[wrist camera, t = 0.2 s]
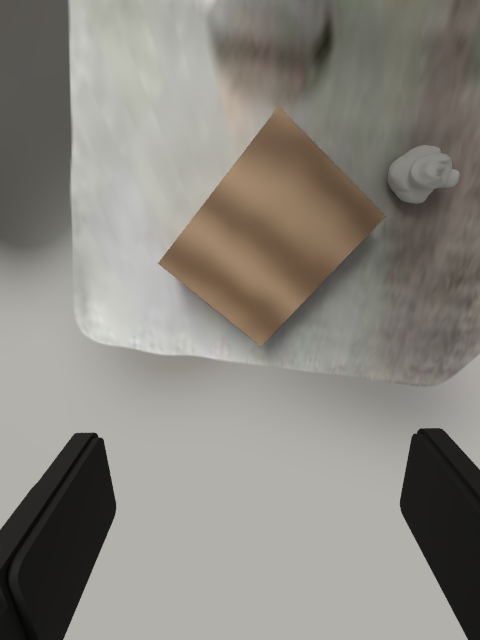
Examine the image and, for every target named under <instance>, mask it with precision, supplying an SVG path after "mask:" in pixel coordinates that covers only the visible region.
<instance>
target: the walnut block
mask: <svg viewBox="0 0 480 640" xmlns="http://www.w3.org/2000/svg"><path fill="white" fill-rule="evenodd" d="M384 218H385V215H384V214H383V213H382V212H381V211H380V210H379V209H378V208H377V207H376V205H375V204H374V203H373V202H372V201H371V200H370V199H369V198H368V197H367V196H366V195H365V194H364V193H363V192H362V191H361V190H360V189H359V188H358V187H357V186H356V185H355V184H354V183H353V182H352V181H351V180H350V179H349V178H348V177H347V176H346V175H345V174H344V173H343V172H342V171H341V170H340V168H339V167H338V166H337V165H336V164H335V163H334V162H333V161H332V160H331V159H330V158H329V157H328V156H327V155H326V154H325V153H324V152H323V151H322V150H321V149H320V148H319V147H318V146H317V145H316V144H315V143H314V142H313V141H312V140H311V139H310V138H309V137H308V136H307V135H306V134H305V132H304V131H303V130H302V129H301V128H300V127H299V126H298V125H297V124H296V123H295V122H294V121H293V120H292V119H291V118H290V117H289V116H288V115H287V114H286V113H285V112H284V111H283V110H282V109H281V108H280V107H278V108H277V109H276V111H275V112H274V113H273V115H272V116H271V117H270V119H269V120H268V121H267V122H266V124H265V125H264V126H263V128H262V129H261V130H260V132H259V133H258V134H257V135H256V137H255V138H254V139H253V141H252V142H251V143H250V145H249V146H248V147H247V148H246V150H245V151H244V152H243V154H242V155H241V156H240V158H239V159H238V160H237V161H236V163H235V164H234V165H233V167H232V168H231V169H230V171H229V172H228V173H227V174H226V176H225V177H224V178H223V180H222V181H221V182H220V184H219V185H218V186H217V187H216V189H215V190H214V191H213V193H212V194H211V195H210V197H209V198H208V199H207V200H206V202H205V203H204V204H203V206H202V207H201V208H200V210H199V211H198V212H197V213H196V215H195V216H194V217H193V219H192V220H191V221H190V223H189V224H188V225H187V226H186V228H185V229H184V230H183V232H182V233H181V234H180V236H179V237H178V238H177V239H176V241H175V242H174V243H173V245H172V246H171V247H170V249H169V250H168V251H167V253H166V254H165V255H164V256H163V258H162V259H161V260H160V262H159V263H158V264H159V265H161V266H162V267H163V268H164V269H165V270H167V271H168V272H169V273H170V274H172V275H173V276H174V277H175V278H177V279H178V280H179V281H180V282H182V283H183V284H184V285H185V286H187V287H188V288H189V289H190V290H192V291H193V292H194V293H195V294H197V295H198V296H199V297H200V298H202V299H203V300H204V301H205V302H207V303H208V304H209V305H210V306H212V307H213V308H214V309H215V310H217V311H218V312H219V313H220V314H222V315H223V316H224V317H225V318H227V319H228V320H229V321H230V322H232V323H233V324H234V325H235V326H237V327H238V328H239V329H240V330H241V331H243V332H244V333H245V334H246V335H248V336H249V337H250V338H251V339H253V340H254V341H255V342H256V343H258V344H259V345H260V346H262V345H263V344H264V343H265V342H266V341H267V339H268V338H269V337H270V336H271V335H272V334H273V333H274V332H275V331H276V330H277V329H278V328H279V327H280V326H281V325H282V324H283V323H284V322H285V321H286V320H287V319H288V318H289V317H290V315H291V314H292V313H293V312H294V311H295V310H296V309H297V308H298V307H299V306H300V305H301V304H302V303H303V302H304V301H305V300H306V299H307V298H308V297H309V296H310V295H311V294H312V293H313V292H314V290H315V289H316V288H317V287H318V286H319V285H320V284H321V283H322V282H323V281H324V280H325V279H326V278H327V277H328V276H329V275H330V274H331V273H332V272H333V271H334V270H335V269H336V268H337V267H338V265H339V264H340V263H341V262H342V261H343V260H344V259H345V258H346V257H347V256H348V255H349V254H350V253H351V252H352V251H353V250H354V249H355V248H356V247H357V246H358V245H359V244H360V243H361V241H362V240H363V239H364V238H365V237H366V236H367V235H368V234H369V233H370V232H371V231H372V230H373V229H374V228H375V227H376V226H377V225H378V224H379V223H380V222H381V221H382V220H383V219H384Z"/></svg>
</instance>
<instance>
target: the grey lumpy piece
mask: <svg viewBox="0 0 480 640" xmlns="http://www.w3.org/2000/svg"><path fill="white" fill-rule="evenodd" d="M459 177H460V174H459V171H458V170H455V169H452V161H451V158H450V157H449V156H448V155H446V154H442V153H441V150H440V148H438V147H436V146H430V145H421V146H418V147H415V148H413V149H411V150H410V151H408V152H407V153H406V154H404V155H403V156H401V157H399V158H398V159H397V160H395V161H394V162H393V163H392V164H391V166H390V168H389V172H388V177H387V181H388V183H389V186H390V188H391V190H392V191H393V192H395V194H396V195H397V197H398V198H399V199H400V200H402V201H404V202H409V203H415V204H419V203H422V202H424V201H425V200H426V199H427V197H428V195H429V194H430V193H431V192H432V191H433V190H434V189H436V188H451V187H453V186H455V185H456V184H457V183H458V181H459Z"/></svg>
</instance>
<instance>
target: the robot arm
mask: <svg viewBox="0 0 480 640" xmlns="http://www.w3.org/2000/svg"><path fill="white" fill-rule="evenodd" d="M400 507H401V512H402V514H403V517H404V518H405V520H406V522H407V524H408V526H409V528H410V529H411V532H412V534H413V535H414V537H415V539H416V541H417V543H418V545H419V547H420V549H421V551H422V553H423V555H424V557H425V558H426V560H427V562H428V564H429V566H430V568H431V570H432V572H433V574H434V575H435V577H436V579H437V581H438V583H439V585H440V587H441V589H442V591H443V593H444V595H445V597H446V598H447V600H448V602H449V604H450V606H451V608H452V610H453V612H454V614H455V616H456V617H457V619H458V621H459V623H460V625H461V627H462V629H463V631H464V632H465V635H466V637H467V638H468V640H480V470H479V469H478V467H477V466H476V465H475V464H474V463H473V462H472V461H471V460H470V459H469V458H468V456H467V455H466V454H465V453H464V452H463V451H462V450H461V449H460V448H459V447H458V445H457V444H456V443H455V442H454V441H453V440H452V439H451V438H450V437H449V436H448V434H447V433H446V432H445V431H443V430H442V429H440V428H430V429H428V428H427V429H419V430H418V432H417V434H413V436H412V439H411V444H410V450H409V455H408V461H407V466H406V472H405V477H404V482H403V488H402V493H401V499H400ZM115 512H116V501H115V496H114V491H113V486H112V481H111V476H110V470H109V466H108V461H107V455H106V450H105V445H104V440H103V439H102V438H99V437H98V435H97V434H96V433H76V434H74V435H73V436H72V438H71V439H70V440H69V442H68V443H67V444H66V446H65V447H64V448H63V450H62V451H61V452H60V454H59V455H58V456H57V458H56V459H55V460H54V462H53V463H52V464H51V466H50V467H49V468H48V470H47V471H46V472H45V473H44V475H43V476H42V478H41V479H40V480H39V481H38V483H36V485H35V486H34V487H33V488H32V489H31V490H30V491H29V493H28V494H27V496H26V497H25V498H24V499H23V501H22V502H21V504H20V505H19V506H18V507H17V509H16V510H15V511H14V513H13V514H12V515H11V517H10V518H9V519H8V521H7V522H6V523H5V524H4V526H3V527H2V529H1V530H0V640H63V639H64V636H65V634H66V632H67V629H68V627H69V624H70V622H71V620H72V617H73V615H74V612H75V610H76V608H77V605H78V603H79V600H80V598H81V596H82V593H83V591H84V589H85V586H86V584H87V581H88V579H89V576H90V574H91V572H92V569H93V567H94V564H95V562H96V560H97V557H98V555H99V552H100V550H101V548H102V545H103V543H104V541H105V538H106V536H107V533H108V531H109V529H110V526H111V524H112V522H113V519H114V516H115Z"/></svg>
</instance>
